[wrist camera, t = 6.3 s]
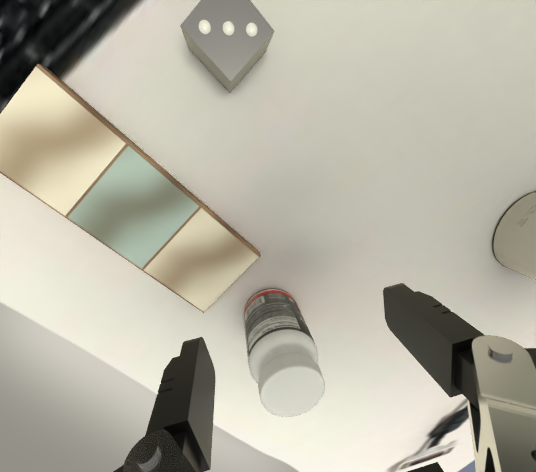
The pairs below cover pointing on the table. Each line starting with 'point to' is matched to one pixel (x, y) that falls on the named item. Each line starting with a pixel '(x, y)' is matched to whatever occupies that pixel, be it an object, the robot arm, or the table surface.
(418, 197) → the table surface
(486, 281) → the table surface
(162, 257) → the board
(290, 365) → the pill bottle
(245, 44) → the die
